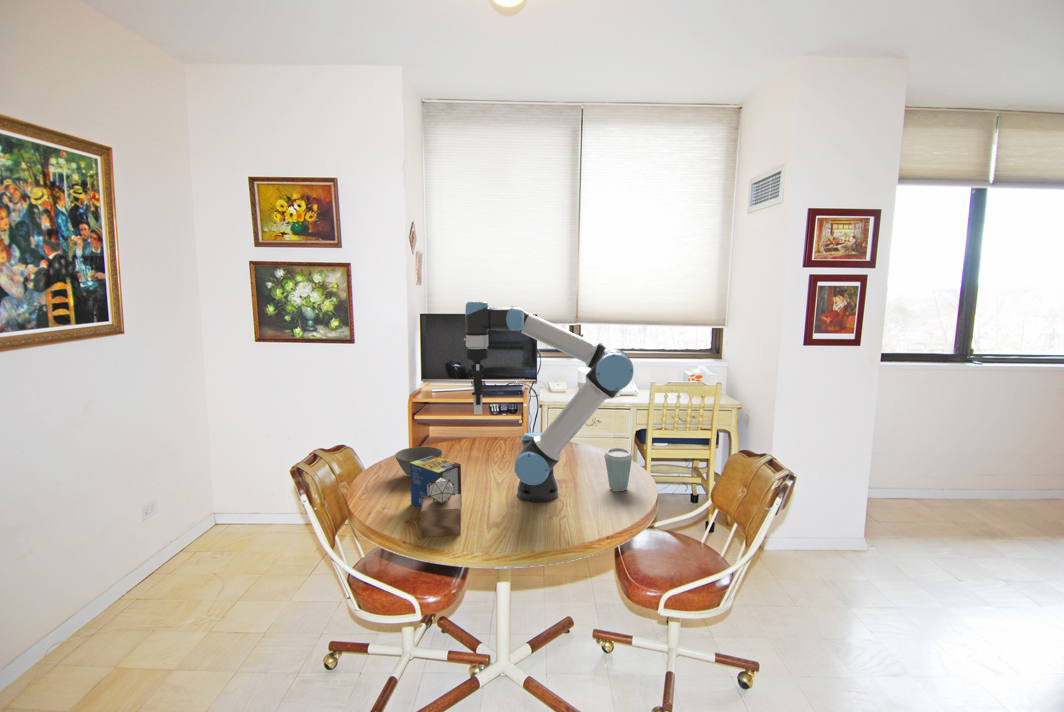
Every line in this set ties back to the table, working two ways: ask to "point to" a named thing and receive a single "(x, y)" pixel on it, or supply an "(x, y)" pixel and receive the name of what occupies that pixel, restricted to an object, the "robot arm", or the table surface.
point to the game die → (441, 490)
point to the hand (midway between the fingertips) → (477, 409)
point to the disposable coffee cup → (618, 467)
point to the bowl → (415, 456)
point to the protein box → (432, 476)
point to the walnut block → (441, 516)
